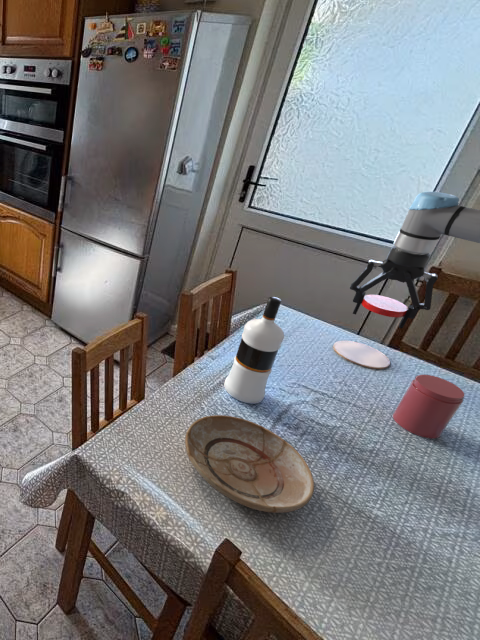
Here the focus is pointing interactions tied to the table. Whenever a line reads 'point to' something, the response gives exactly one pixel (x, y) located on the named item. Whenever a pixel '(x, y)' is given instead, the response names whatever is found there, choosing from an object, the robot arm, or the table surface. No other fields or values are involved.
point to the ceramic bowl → (249, 464)
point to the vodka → (255, 356)
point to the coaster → (361, 354)
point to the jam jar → (428, 406)
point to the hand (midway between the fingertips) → (377, 319)
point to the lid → (384, 306)
